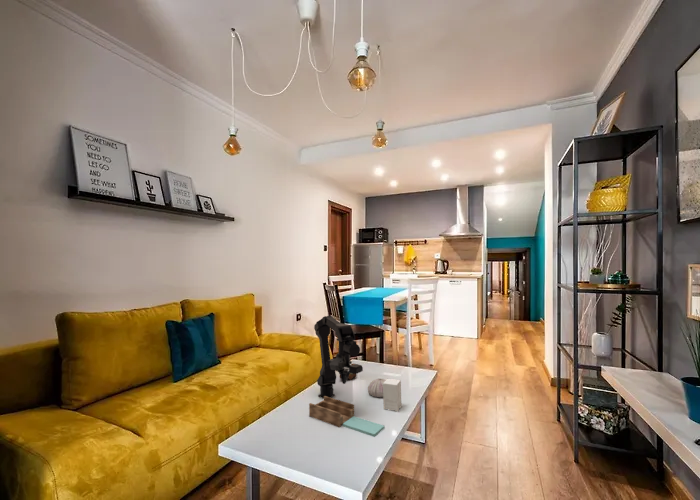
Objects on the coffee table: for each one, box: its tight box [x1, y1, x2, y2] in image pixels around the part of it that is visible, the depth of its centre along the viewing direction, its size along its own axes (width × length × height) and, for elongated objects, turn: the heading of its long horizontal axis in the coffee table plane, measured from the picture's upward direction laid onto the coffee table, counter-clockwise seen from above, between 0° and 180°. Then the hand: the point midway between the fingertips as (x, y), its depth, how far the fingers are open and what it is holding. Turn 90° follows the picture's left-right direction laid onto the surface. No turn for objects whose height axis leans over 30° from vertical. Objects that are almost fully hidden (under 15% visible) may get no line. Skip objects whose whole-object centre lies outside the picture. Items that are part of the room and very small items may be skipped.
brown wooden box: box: [308, 396, 355, 428], centre depth 150 cm, size 18×11×6 cm, turn 53°
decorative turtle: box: [339, 363, 358, 381], centre depth 201 cm, size 10×15×8 cm, turn 148°
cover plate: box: [342, 415, 385, 438], centre depth 140 cm, size 16×9×2 cm, turn 55°
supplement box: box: [382, 378, 402, 412], centre depth 159 cm, size 7×7×13 cm
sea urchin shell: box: [367, 378, 386, 398], centre depth 176 cm, size 13×14×8 cm
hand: (344, 383), depth 157 cm, fingers closed
